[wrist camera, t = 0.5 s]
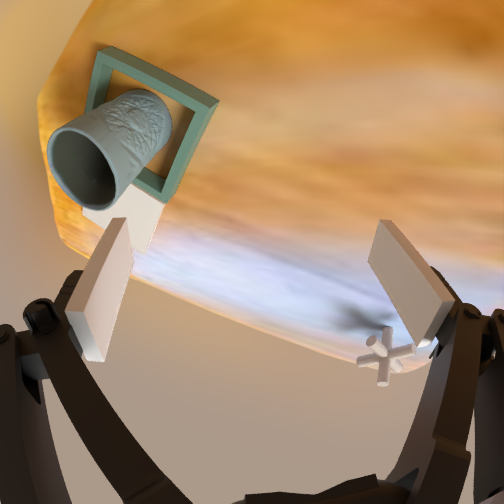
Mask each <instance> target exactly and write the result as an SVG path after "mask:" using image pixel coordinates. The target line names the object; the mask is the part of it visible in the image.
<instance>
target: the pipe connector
mask: <svg viewBox="0 0 504 504" xmlns="http://www.w3.org/2000/svg"><path fill="white" fill-rule="evenodd" d="M392 342H393V328H392V327H384V328H383V333H382V343H381V342H380V341H379V340H378V339H377V338H376V337H375V336H371V337H369V338H368V339H367V341H366V345H367V346H368V347H369V348H370V349H371V350H372V351H373V352H374V353H373V354H369V355H364V356H360V357H358V358H357V365H358V367H364V366H369V365H374V364H378V363H379V373H378V380H377V385H379V386H388V384H389V376H390V368H391V369H392V370H393V371H394V372H395V373H399V372H401V371H402V369H403V365H402V364H401V363H400V362H399V361H398V360H397V359H400V358H404V357H408V356H412V355H415V354H416V347H415V345H414V344H413V343H412V344H408V345H404V346H401V347H397V348H393V349H392Z"/></svg>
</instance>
